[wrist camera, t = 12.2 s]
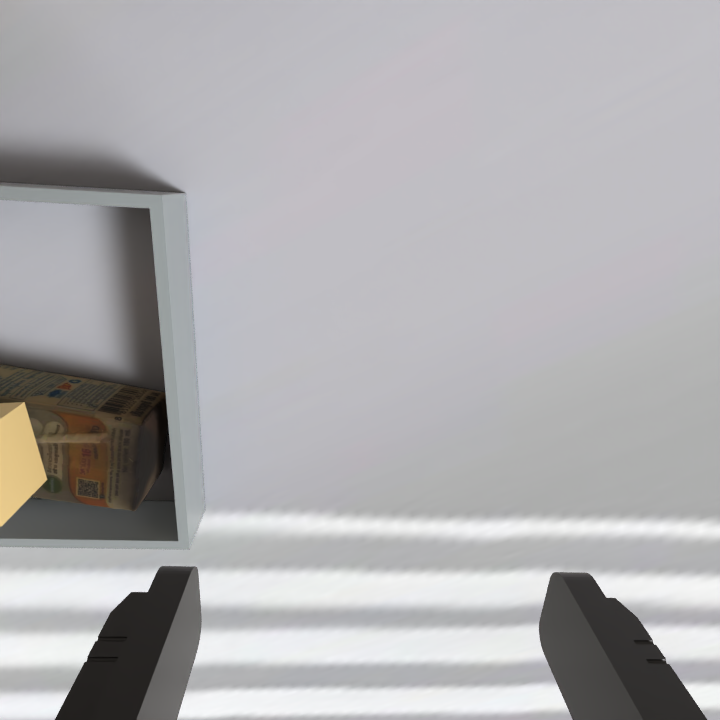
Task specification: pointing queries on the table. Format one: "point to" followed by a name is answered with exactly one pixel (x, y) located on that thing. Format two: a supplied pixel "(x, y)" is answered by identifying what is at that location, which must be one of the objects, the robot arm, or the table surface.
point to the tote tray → (175, 305)
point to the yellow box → (17, 459)
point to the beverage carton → (91, 435)
